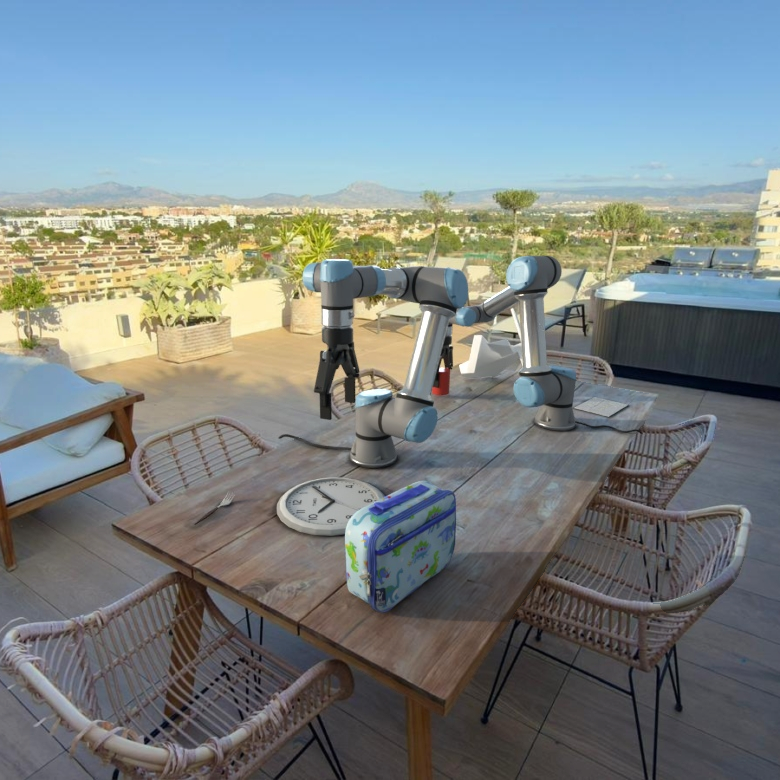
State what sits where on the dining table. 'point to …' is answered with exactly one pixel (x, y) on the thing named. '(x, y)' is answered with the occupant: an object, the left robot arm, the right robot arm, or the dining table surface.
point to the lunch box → (399, 543)
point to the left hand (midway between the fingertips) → (338, 410)
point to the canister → (443, 382)
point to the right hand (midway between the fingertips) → (441, 385)
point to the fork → (223, 503)
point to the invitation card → (601, 406)
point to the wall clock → (325, 504)
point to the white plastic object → (491, 355)
